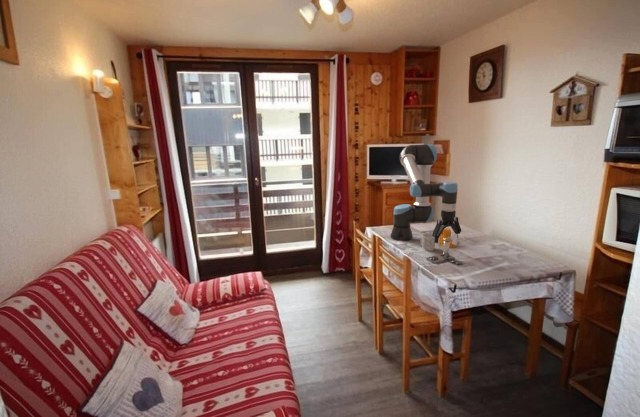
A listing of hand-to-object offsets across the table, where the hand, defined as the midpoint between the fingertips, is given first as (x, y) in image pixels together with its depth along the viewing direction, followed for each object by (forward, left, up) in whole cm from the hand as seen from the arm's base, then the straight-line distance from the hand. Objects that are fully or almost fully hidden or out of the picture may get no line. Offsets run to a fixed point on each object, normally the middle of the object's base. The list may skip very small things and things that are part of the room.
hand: (445, 246), depth 183 cm
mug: (-18, +3, -9) cm, 20 cm away
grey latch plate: (+4, 0, -8) cm, 9 cm away
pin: (0, 0, -8) cm, 8 cm away
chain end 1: (0, -4, -7) cm, 8 cm away
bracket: (-17, +19, -9) cm, 27 cm away
